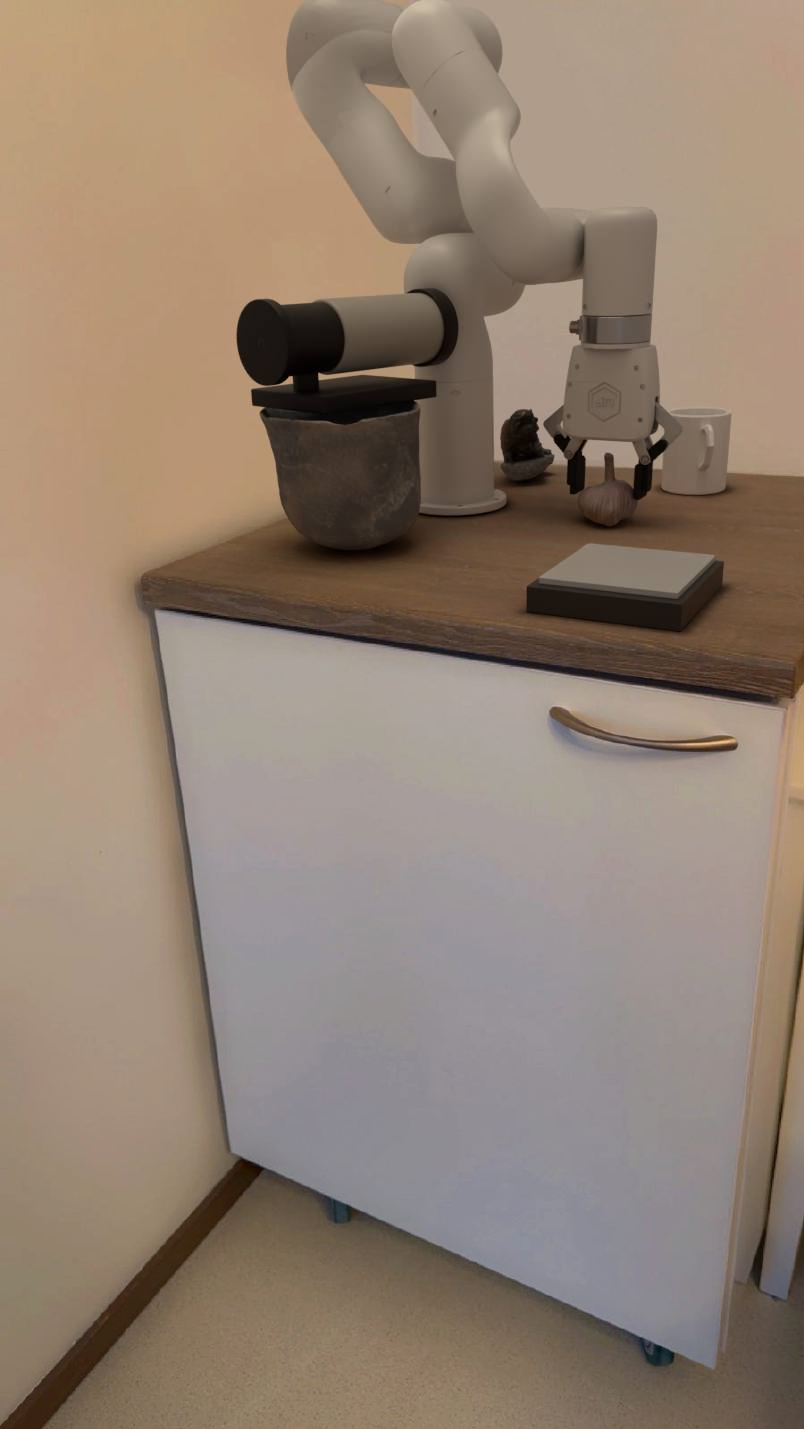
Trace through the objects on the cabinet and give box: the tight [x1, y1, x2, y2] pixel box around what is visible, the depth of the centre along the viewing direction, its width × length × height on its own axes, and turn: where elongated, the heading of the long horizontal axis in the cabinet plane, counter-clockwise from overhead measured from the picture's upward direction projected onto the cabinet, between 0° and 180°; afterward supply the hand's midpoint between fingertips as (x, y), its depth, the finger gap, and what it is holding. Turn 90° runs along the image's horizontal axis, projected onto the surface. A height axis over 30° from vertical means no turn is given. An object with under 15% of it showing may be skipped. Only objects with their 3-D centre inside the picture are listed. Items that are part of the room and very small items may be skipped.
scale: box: [525, 542, 725, 632], centre depth 98 cm, size 14×14×3 cm
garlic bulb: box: [577, 452, 639, 527], centre depth 124 cm, size 8×7×8 cm
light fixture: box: [235, 288, 459, 414], centre depth 115 cm, size 12×11×25 cm
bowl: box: [259, 400, 421, 551], centre depth 117 cm, size 18×18×15 cm
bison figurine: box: [499, 408, 555, 482], centre depth 148 cm, size 12×7×10 cm, turn 168°
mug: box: [660, 406, 733, 496], centre depth 136 cm, size 8×12×10 cm, turn 179°
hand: (608, 493), depth 124 cm, fingers closed on garlic bulb, 7 cm apart
